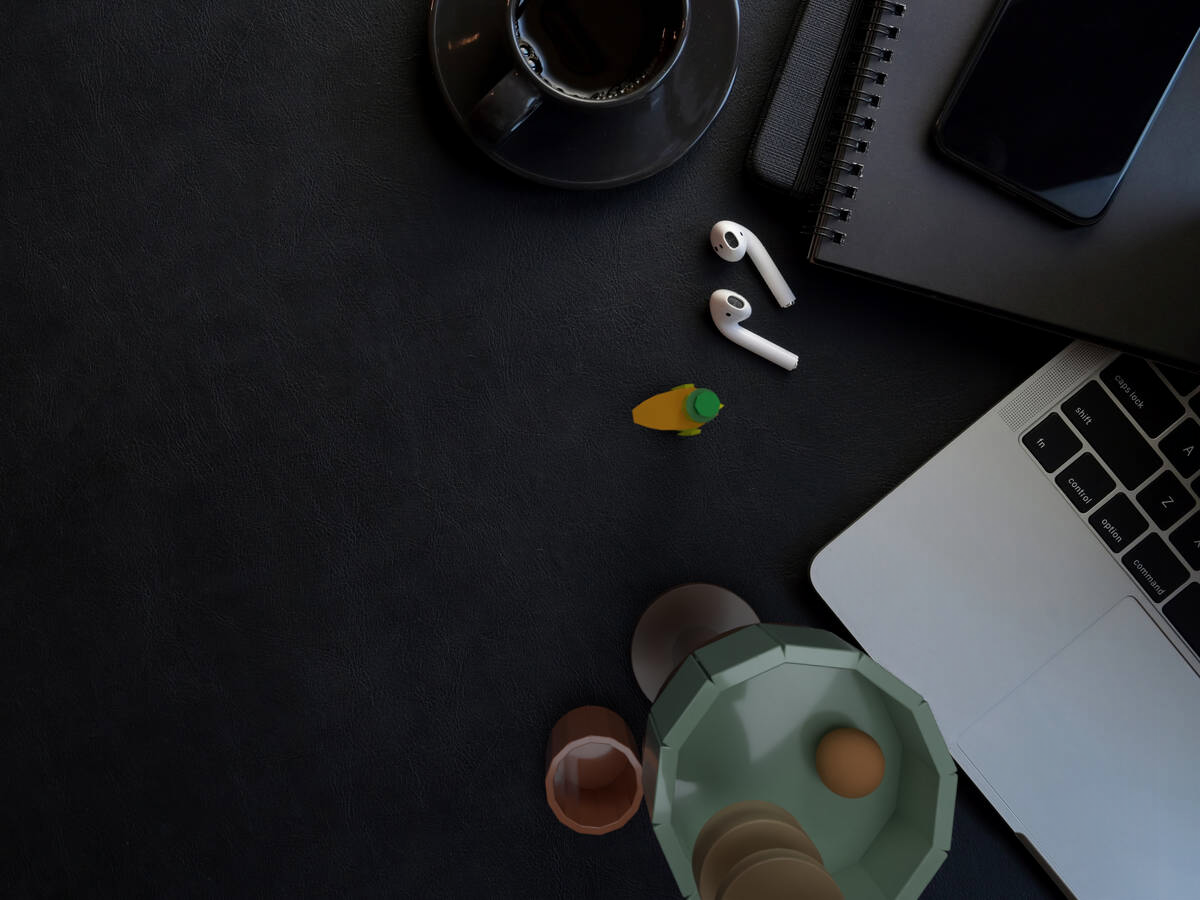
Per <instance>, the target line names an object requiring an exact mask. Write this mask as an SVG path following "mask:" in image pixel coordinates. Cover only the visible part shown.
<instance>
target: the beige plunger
mask: <svg viewBox="0 0 1200 900" xmlns="http://www.w3.org/2000/svg"><path fill="white" fill-rule="evenodd" d="M692 872H693V877H694V881H695V884H696V887H697V890H698V893H699V896H700V899H701V900H845V899H844V896H843V894H842V892H841V890H840V888H839V887H838V885H837V883H836V882H835V880H834V879H833V877H832V876H831V875H830V873H829V872H828V871H827V870H826V868H825V867H824V863H823V860H822V857H821V855H820V853H819V851H818V849H817V848H816V846H815V845H814V843H813V842H812V840H811V839H810V837H809V836H808V834H807V833H806V831H805V830H804V828H803V827H802V825H801V824H800V822H799V821H798V820H797V819H796V818H795V817H794V816H793V815H792V814H791V813H789V812H788V811H787V810H785V809H783V808H782V807H780V806H778V805H775V804H773V803H769V802H765V801H760V800H748V801H741V802H737V803H734V804H731V805H728V806H727V807H725V808H723V809H721V810H720V811H718V812H717V813H715V814H714V815H713V816H712V817H711V818H710V819H709V820H708V821H707V822H706V823H705V825H704V826H703V828H702V829H701V831H700V832H699V834H698V836H697V839H696V841H695V844H694V848H693V853H692Z"/></svg>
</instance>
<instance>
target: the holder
mask: <svg viewBox="0 0 1200 900" xmlns="http://www.w3.org/2000/svg"><path fill="white" fill-rule="evenodd" d="M545 747H546V748H545V770H544V771H545V772H544V773H545V775H544V783H545V789H546V790H545V792H546V801H547V804H548V806H549V808H550V809H551V810H552V812H553V813H554V815H555V817H556V819H557V820H558V821H559V822H560V823H561V824H562V825H565V826H567V828H569V829H571V830H573V831H575V832H576V833H578V834H585V835H596V836H601V835H605V834H607V833H611V832H613V831H616V830H618V829H622V827H624V826H625V825H626V824H627V823H628V822H629V821H630V820H631V819H632V818H633V816H634V815H636V814H637V812H638V811H639V809H640V807H641V802H642V800H643V797H644V792H643V788H642V782H641V777H642V768H643V765H642V760H641V757H640V753H639V750H638V747H637V743H636V739H635V736H634V734H633V732H632V730H631V729H630V727H629V725H628V723H627V722H626V721H625V720H624V718H623V717H621V716H620V715H619V714H618V713H616V712H615V711H613V710H611V709H609V708H607V707H603V706H599V705H583V706H579V707H577V708H574V709H572V710H570V711H568V712H566V713H565V714H564V715H562V716H561V717H560V718H559V719H558V720H557V722H556V723H555V724H554V726H553V728H552V729H551V731H550V734H549V736H548V740H547V744H546V746H545Z"/></svg>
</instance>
